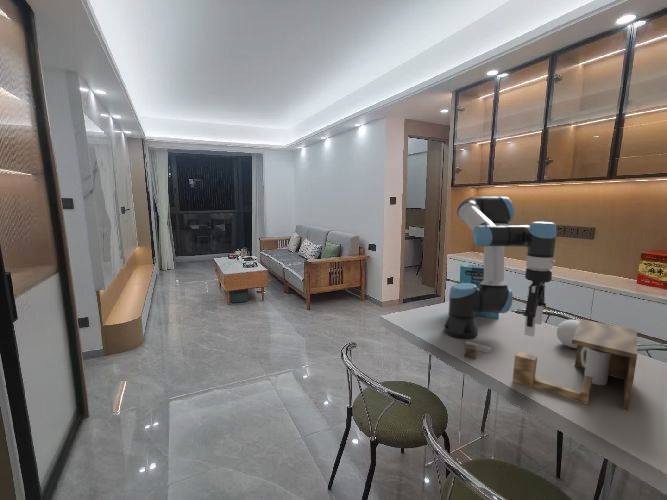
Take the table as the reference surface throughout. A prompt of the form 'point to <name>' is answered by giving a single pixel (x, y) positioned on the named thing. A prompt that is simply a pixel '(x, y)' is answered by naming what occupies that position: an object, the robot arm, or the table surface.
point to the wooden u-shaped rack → (526, 377)
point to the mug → (596, 365)
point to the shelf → (610, 350)
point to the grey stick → (479, 346)
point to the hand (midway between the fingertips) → (533, 329)
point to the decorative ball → (567, 332)
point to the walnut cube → (470, 351)
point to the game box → (475, 282)
